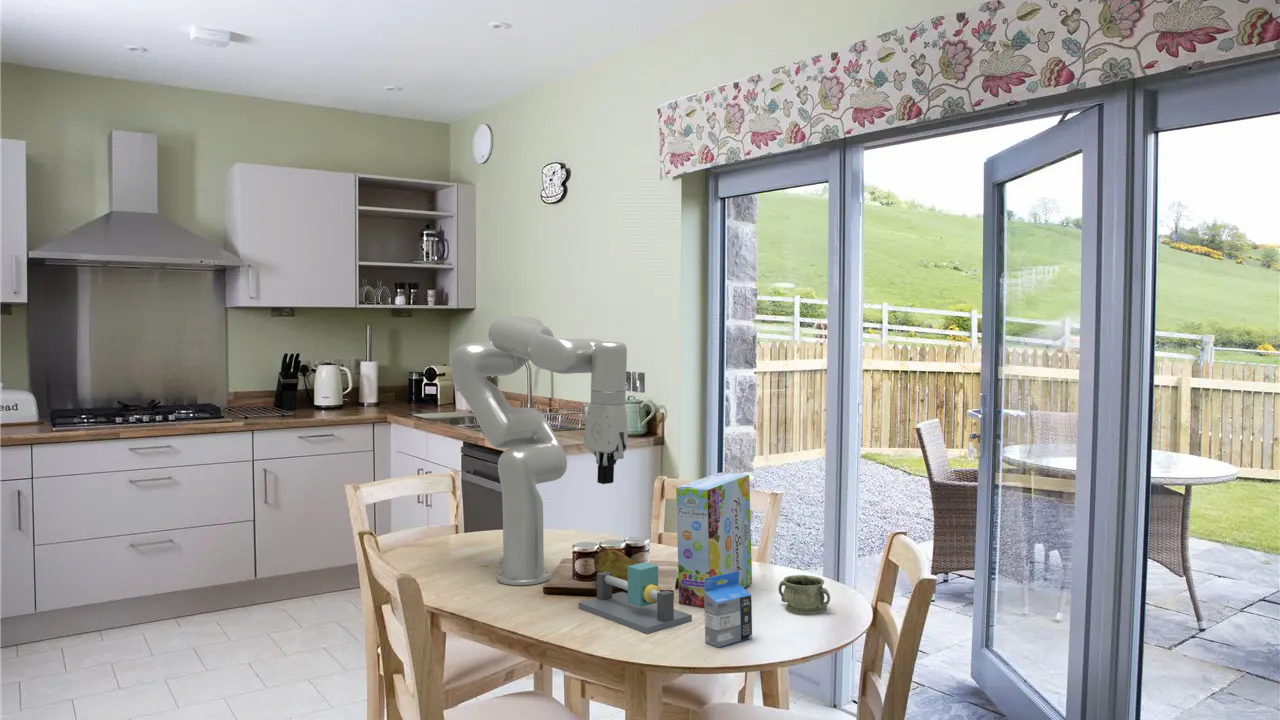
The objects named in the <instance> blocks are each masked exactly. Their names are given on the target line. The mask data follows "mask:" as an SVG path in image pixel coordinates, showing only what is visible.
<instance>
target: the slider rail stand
mask: <svg viewBox="0 0 1280 720" xmlns="http://www.w3.org/2000/svg"><path fill="white" fill-rule="evenodd" d="M614 586H615V587H614ZM613 587H614V588H616V587H618V588H617V589H620V588H621V590H625V591H627V592H625V591H619V592H616V593H613ZM674 595H675V593H674V592H673V591H669V590H668V589H667V590H664V591H662V590H660V588H659V585H658V586H656V585H653V584H648V585H647V586H646V587H643V599H644V600H645V601H646V602H649V603H654V604H650V605H647V606H643V607H639V606H636V605H633V604H630V603H628V581H625V580H622V579H619V578H616V577H613V576H612V573H610V572H607V571H606V572H601V573H597V572H596V598H592V599H588V600H583V601H578V609H580V610H583V611H586V612H588V613H591V614H593V615H595V616H596V615H597V616H598V617H601V618H604V619H607V620H609V621H612V622H615V623H617V624H619V625H623V626H625V627H628V628H631V629H633V630H636V631H639V632H641V633H643V634H646V635H647V634H651V633H655V632H659V631H662V630H665V629H669V628H673V627H675V626H678V625H683V624H686V623H689V622H692V621H693V615H692V614H690V613H687V612H684V611H681V610H678V609H676V608H675V606H674V605H675V604H674V603H675V602H674V597H675V596H674ZM656 601H657V603H655V602H656Z"/></svg>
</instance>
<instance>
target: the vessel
mask: <svg viewBox="0 0 1280 720" xmlns="http://www.w3.org/2000/svg"><path fill="white" fill-rule="evenodd" d="M824 584H825V580H824V579H823V578H822V577H818V576H814V575H806V574H793V575H789V576H788V575H787V576H785V577H784V578H783V580H781V581H780V582H779V584H778V593H779V595H780V596H781V602H783V603H787V605H786V606H785V610H786V611H787V612H788V613H790V614H794V615H800V616H811V615H817V614H820V613H821V612H822V611H823V612H824V611H827V610H828V608H827V607H828V606H827V605H829V604H830V601H831V595H830V592H829V591H828V588H826V587H823V585H824ZM783 586H784V589H783V591H782V587H783ZM825 596H826V601H825Z"/></svg>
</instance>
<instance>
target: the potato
mask: <svg viewBox="0 0 1280 720" xmlns="http://www.w3.org/2000/svg"><path fill="white" fill-rule="evenodd" d="M635 564H638V563H637V562H636V561H634V560H633V559H632V558H630V557H628V556H627V555H625V554H624V553H622V552H621V551H619V550H617V549H616V550H615V549H612V550H609V549H603V550H602V551H600V552H599V553H597V554H596V555H595V557H594V559H593V566H594V567H593V568H594V570H595V571H596V574H597V573H601V572H606V571H607V572H610V573H612V576H613V577H616V578H619V579H622V580H625V581H628V566H631V565H635Z"/></svg>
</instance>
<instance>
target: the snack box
mask: <svg viewBox="0 0 1280 720" xmlns="http://www.w3.org/2000/svg"><path fill="white" fill-rule="evenodd" d="M750 487H751V486H750V474H749V473H747V474H746V473H734V472H733V473H731V472H718V473H715V474H712V475H708V476H706V477H703V478H699V479H697V480H694V481H691V482H688V483H685V484H682V485H680V486H677V487H676V488H675V489H676V492H675V493H676V498H675V499H676V530H677V531H676V532H677V533H676V534H677V538H676V539H677V568H678V569H677V570H678V571H677V573H678V574H677V575H678V577H677V578H678V580H677V581H678V604H680V605H686V606H690V607H691V606H692V607H697V608H704V586H705V585H704V584H705V578H708V577H713V576H717V575H722V574H727V573H732V572H737V571H740V573H739V584H740V585H741V586H742V587H743V588H744V589H745V588H747V587H748V586H750V585H752V584H753V568H752V567H753V565H752V562H753V561H752V557H753V556H752V532H751V530H752V529H751V527H752V526H751V525H752V523H751V495H750V494H751V488H750ZM727 581H728V580H723V579H721V581H718V582H716V585H717V584H722V583H726V582H727Z"/></svg>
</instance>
